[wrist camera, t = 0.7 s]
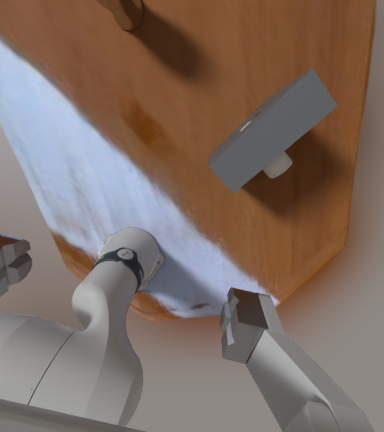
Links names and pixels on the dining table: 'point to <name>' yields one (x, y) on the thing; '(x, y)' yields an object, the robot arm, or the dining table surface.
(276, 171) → the knob
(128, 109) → the dining table surface
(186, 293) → the dining table surface
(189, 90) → the dining table surface
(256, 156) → the control block
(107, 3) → the beer glass
